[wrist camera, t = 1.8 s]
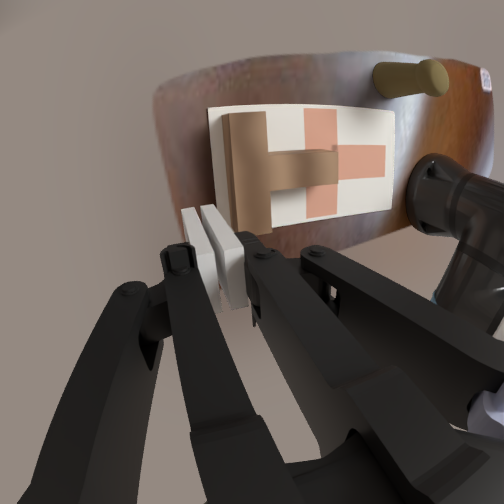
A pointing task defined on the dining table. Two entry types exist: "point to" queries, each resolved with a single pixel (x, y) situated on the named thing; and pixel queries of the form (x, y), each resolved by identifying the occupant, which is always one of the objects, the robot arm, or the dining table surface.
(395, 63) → the olive pepper mill
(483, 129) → the dining table surface
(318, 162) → the t block
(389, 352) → the robot arm
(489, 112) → the dining table surface
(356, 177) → the mat
